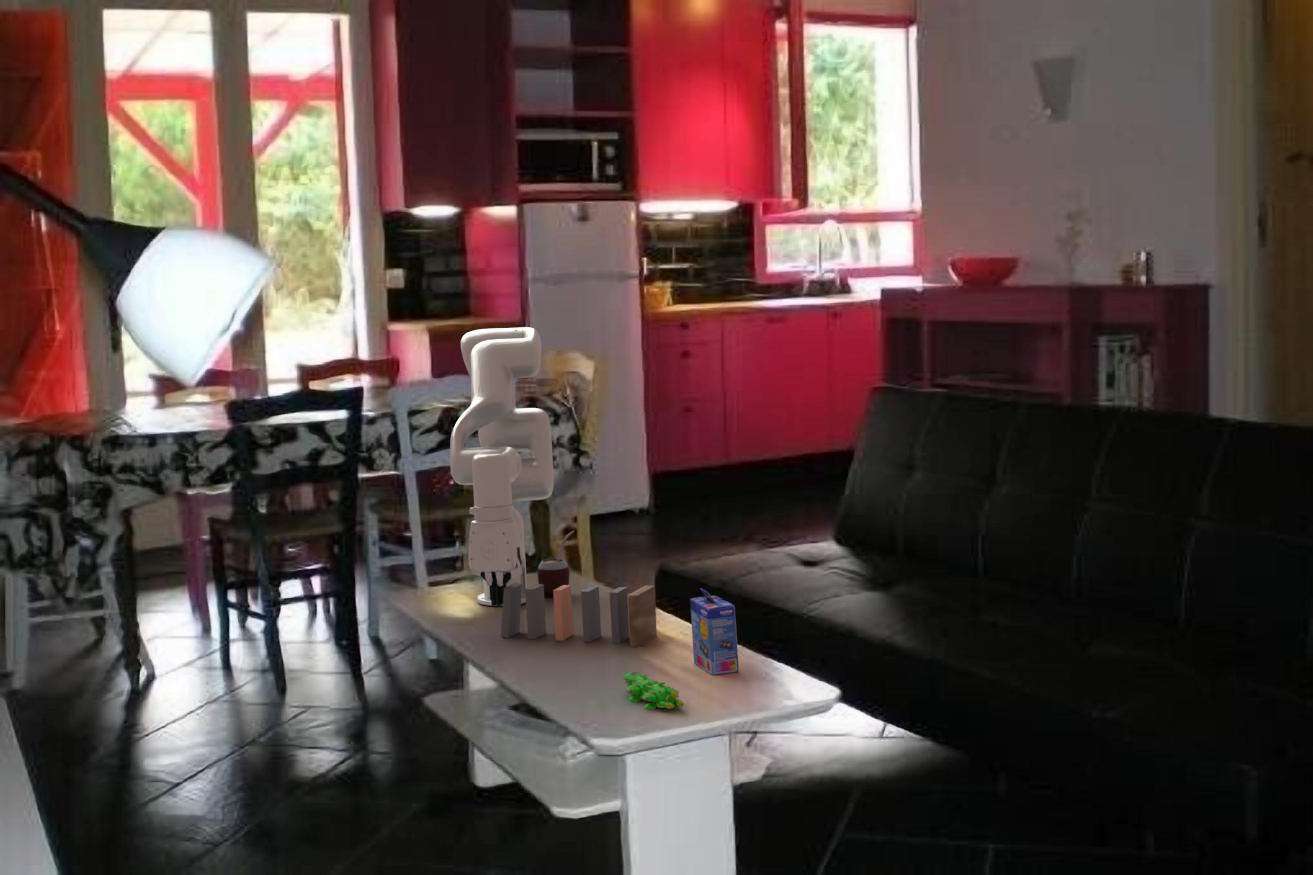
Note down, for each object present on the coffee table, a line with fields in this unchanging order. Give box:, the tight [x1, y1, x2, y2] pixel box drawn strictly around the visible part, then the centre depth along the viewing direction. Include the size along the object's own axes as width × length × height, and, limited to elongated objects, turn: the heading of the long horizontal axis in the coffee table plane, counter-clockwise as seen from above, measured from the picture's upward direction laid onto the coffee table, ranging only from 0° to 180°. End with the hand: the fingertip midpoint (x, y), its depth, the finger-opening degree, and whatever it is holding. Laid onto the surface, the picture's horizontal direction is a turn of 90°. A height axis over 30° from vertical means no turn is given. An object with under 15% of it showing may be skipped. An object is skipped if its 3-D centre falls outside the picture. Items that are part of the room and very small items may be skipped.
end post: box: [627, 585, 658, 648], centre depth 305 cm, size 2×9×10 cm, turn 159°
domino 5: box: [609, 586, 630, 644], centre depth 307 cm, size 2×5×10 cm, turn 159°
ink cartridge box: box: [689, 588, 740, 676], centre depth 283 cm, size 10×6×14 cm, turn 19°
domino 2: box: [525, 583, 547, 640], centre depth 314 cm, size 2×5×10 cm, turn 159°
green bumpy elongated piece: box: [621, 670, 684, 710], centre depth 263 cm, size 7×18×4 cm, turn 29°
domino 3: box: [553, 584, 574, 642], centre depth 312 cm, size 2×5×10 cm, turn 160°
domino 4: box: [580, 585, 602, 643], centre depth 309 cm, size 2×5×10 cm, turn 159°
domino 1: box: [500, 583, 522, 639], centre depth 316 cm, size 2×5×10 cm, turn 159°
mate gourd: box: [536, 529, 575, 598], centre depth 351 cm, size 8×8×15 cm
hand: (498, 604), depth 316 cm, fingers closed
